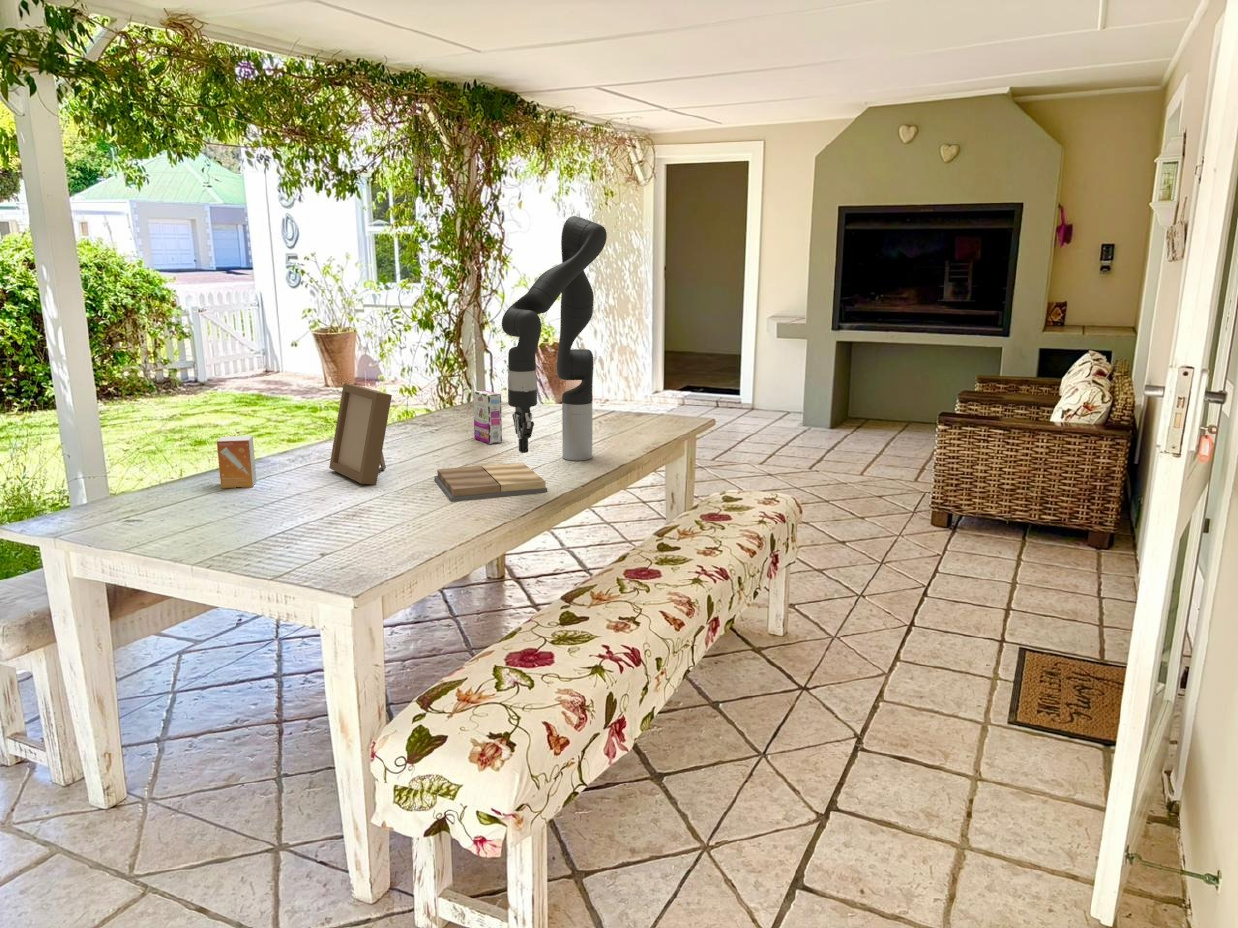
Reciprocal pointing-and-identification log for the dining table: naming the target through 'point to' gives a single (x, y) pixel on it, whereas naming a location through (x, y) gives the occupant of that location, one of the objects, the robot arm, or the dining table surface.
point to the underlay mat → (480, 496)
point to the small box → (236, 461)
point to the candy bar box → (487, 417)
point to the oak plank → (514, 477)
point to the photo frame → (360, 433)
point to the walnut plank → (468, 481)
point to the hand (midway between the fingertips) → (523, 452)
